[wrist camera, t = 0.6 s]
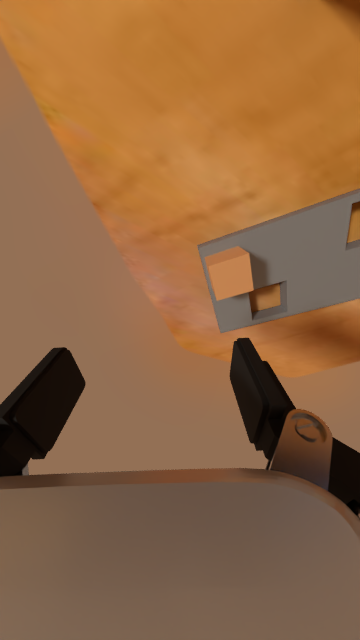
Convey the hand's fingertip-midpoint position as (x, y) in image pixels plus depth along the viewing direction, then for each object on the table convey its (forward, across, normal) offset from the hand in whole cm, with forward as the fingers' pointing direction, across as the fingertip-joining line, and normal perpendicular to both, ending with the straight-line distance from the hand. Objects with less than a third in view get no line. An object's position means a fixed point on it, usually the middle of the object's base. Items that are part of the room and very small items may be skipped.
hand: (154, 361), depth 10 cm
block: (+20, -8, 0) cm, 21 cm away
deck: (+22, -22, +1) cm, 31 cm away
